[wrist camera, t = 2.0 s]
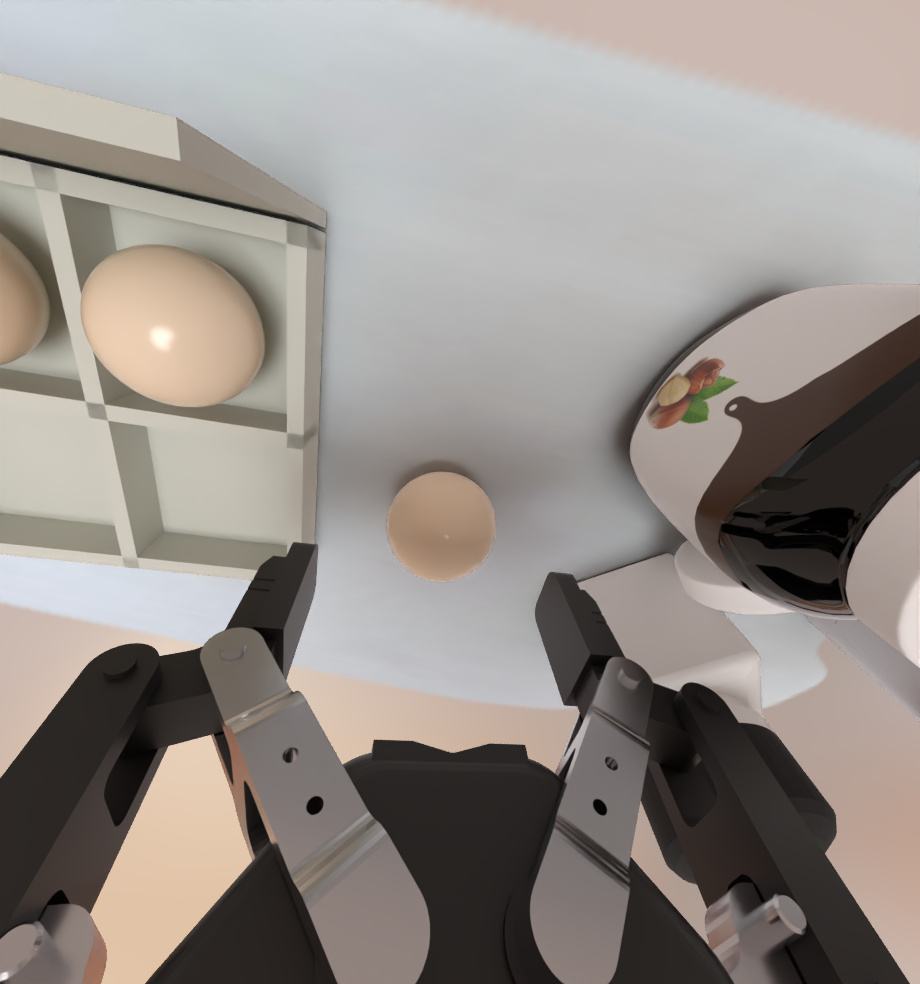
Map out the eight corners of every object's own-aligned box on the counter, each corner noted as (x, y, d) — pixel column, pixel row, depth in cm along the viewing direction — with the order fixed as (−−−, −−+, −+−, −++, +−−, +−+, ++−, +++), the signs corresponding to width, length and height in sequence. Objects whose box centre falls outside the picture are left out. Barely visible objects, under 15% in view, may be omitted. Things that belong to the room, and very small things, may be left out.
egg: (498, 462, 19) (518, 515, 15) (477, 544, 21) (489, 611, 17) (397, 446, 18) (388, 497, 14) (386, 533, 21) (374, 599, 16)
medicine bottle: (547, 589, 23) (645, 852, 13) (670, 548, 22) (886, 793, 12) (576, 665, 26) (672, 924, 16) (684, 632, 26) (862, 882, 15)
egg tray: (326, 211, 14) (176, 116, 6) (314, 552, 21) (236, 737, 12) (-163, 95, 12) (-1530, -320, 4) (-1, 516, 19) (-350, 709, 10)
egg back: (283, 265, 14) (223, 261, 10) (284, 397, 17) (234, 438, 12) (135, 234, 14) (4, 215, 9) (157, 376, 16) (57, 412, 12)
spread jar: (778, 249, 16) (1439, 194, 5) (889, 426, 20) (1392, 590, 9) (553, 467, 19) (690, 678, 9) (684, 578, 23) (882, 813, 13)
